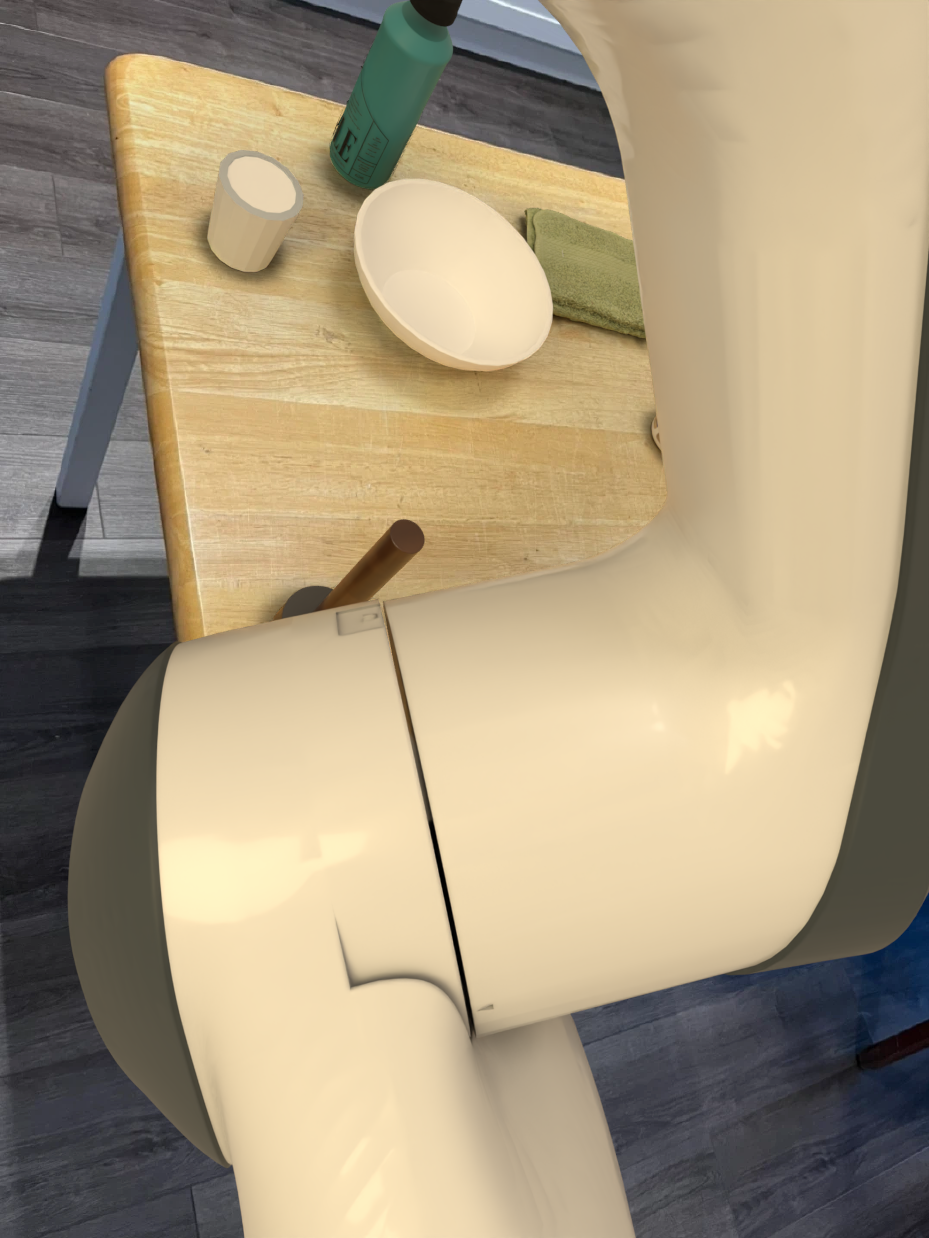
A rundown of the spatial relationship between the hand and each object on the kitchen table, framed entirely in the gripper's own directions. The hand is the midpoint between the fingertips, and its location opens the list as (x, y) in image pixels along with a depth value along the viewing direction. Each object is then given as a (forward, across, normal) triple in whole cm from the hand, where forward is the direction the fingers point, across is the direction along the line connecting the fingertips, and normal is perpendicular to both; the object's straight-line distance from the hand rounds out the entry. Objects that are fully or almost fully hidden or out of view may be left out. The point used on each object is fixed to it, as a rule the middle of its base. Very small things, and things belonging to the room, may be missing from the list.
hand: (366, 717), depth 43 cm
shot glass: (+46, +17, -16) cm, 51 cm away
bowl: (+48, 0, -19) cm, 52 cm away
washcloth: (+60, -16, -31) cm, 70 cm away
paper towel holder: (+23, 0, +6) cm, 24 cm away
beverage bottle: (+56, +11, -27) cm, 64 cm away
